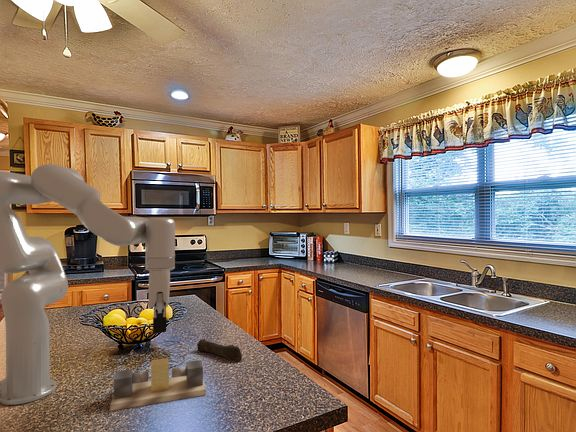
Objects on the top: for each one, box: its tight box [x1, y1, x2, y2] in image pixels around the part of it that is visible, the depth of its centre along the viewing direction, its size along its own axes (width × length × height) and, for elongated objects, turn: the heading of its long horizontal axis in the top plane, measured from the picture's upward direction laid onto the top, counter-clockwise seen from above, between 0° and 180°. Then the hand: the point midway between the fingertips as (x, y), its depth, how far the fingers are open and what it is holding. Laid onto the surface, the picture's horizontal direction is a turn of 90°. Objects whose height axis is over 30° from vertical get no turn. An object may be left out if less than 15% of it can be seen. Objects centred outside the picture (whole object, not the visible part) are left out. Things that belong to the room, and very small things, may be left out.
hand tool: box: [196, 339, 242, 362], centre depth 120 cm, size 19×4×5 cm, turn 55°
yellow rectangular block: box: [150, 357, 170, 393], centre depth 95 cm, size 4×4×7 cm
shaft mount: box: [109, 359, 207, 412], centre depth 95 cm, size 23×10×6 cm, turn 110°
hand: (159, 326), depth 95 cm, fingers open, 9 cm apart
